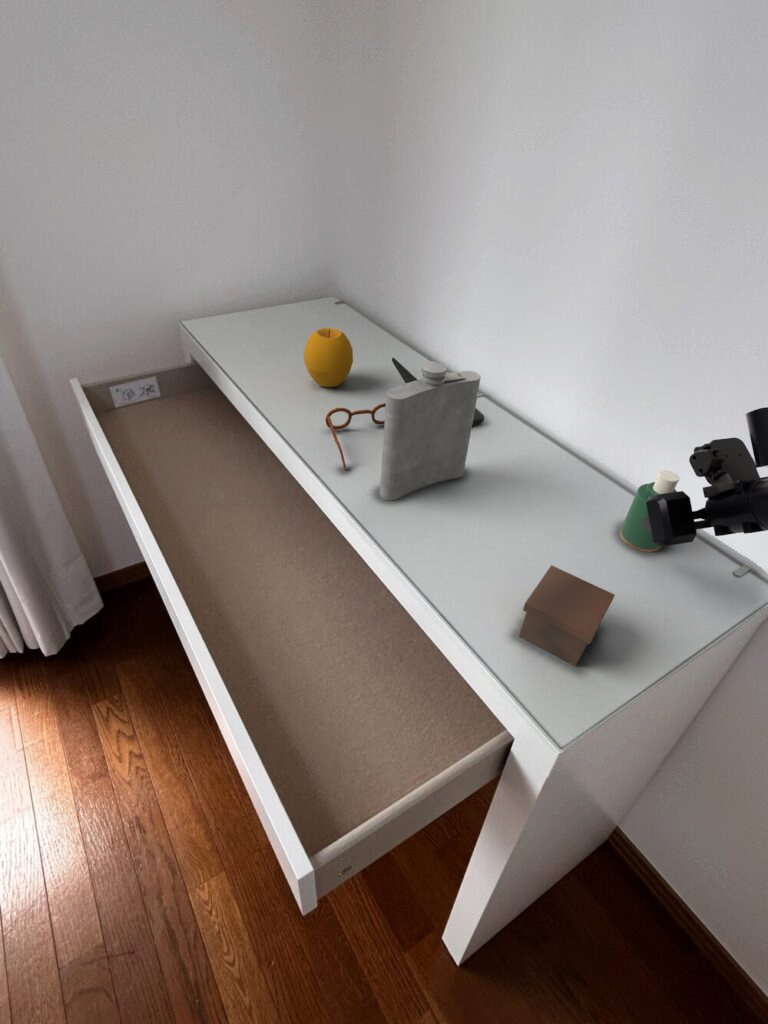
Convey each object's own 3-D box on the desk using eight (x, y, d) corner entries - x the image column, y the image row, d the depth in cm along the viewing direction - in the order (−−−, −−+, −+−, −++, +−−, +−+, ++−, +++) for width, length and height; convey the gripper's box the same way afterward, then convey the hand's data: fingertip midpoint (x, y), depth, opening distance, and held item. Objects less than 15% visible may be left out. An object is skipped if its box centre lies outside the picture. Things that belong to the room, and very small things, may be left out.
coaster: (663, 533, 86) (664, 531, 86) (659, 557, 82) (660, 555, 81) (623, 520, 88) (624, 518, 88) (617, 542, 84) (618, 540, 83)
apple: (310, 398, 112) (309, 340, 104) (299, 376, 119) (297, 321, 111) (358, 393, 115) (360, 336, 107) (344, 372, 122) (345, 317, 114)
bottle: (671, 543, 83) (702, 483, 76) (641, 553, 81) (669, 492, 74) (642, 519, 88) (668, 459, 81) (612, 528, 85) (637, 467, 79)
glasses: (394, 423, 106) (395, 399, 103) (418, 462, 97) (420, 436, 94) (325, 431, 103) (324, 406, 100) (342, 472, 93) (343, 446, 90)
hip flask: (386, 502, 88) (396, 383, 75) (373, 488, 90) (379, 371, 78) (467, 474, 95) (488, 361, 82) (452, 462, 97) (470, 351, 85)
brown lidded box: (600, 627, 71) (615, 594, 67) (577, 670, 66) (592, 637, 62) (540, 597, 74) (551, 564, 70) (514, 636, 69) (524, 603, 65)
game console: (486, 424, 108) (494, 380, 102) (422, 436, 103) (427, 391, 97) (446, 387, 119) (452, 346, 113) (387, 397, 114) (389, 354, 108)
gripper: (821, 425, 66) (715, 454, 81) (687, 441, 62) (601, 468, 77) (841, 520, 65) (730, 531, 80) (707, 543, 61) (616, 550, 76)
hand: (670, 518), depth 78 cm, fingers open, 9 cm apart
